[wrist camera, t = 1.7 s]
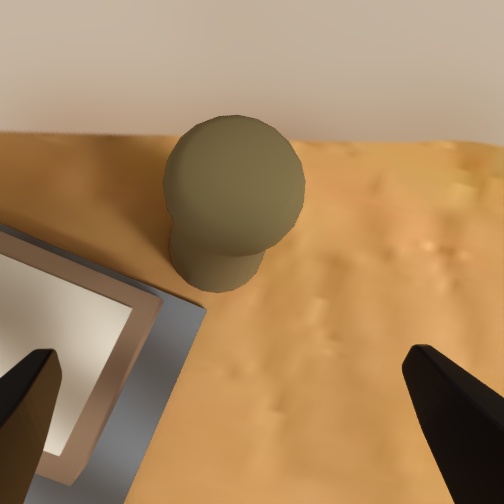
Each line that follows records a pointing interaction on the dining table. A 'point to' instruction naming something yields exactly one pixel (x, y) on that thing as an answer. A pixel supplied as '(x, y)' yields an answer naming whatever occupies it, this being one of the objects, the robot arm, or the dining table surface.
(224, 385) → the dining table surface
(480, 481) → the robot arm
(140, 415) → the build base
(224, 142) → the olive pawn piece
